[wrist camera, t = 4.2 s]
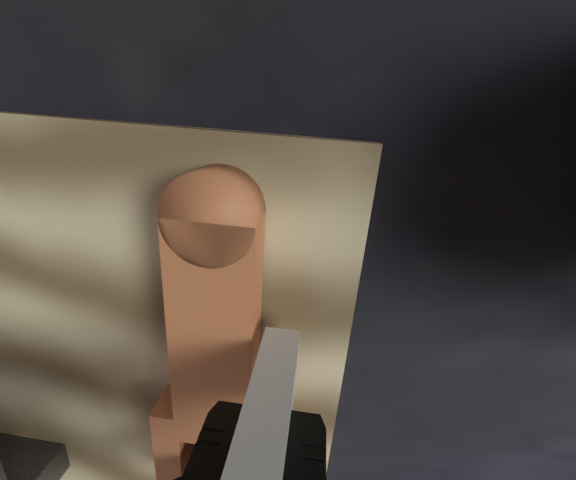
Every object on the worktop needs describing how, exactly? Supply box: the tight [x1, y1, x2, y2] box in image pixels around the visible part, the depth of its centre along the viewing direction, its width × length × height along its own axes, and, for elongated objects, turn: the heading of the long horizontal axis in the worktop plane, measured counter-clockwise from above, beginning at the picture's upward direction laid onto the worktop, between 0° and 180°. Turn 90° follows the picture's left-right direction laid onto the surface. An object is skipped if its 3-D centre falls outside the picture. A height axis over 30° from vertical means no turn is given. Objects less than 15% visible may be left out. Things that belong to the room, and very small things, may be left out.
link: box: [149, 164, 266, 480], centre depth 15 cm, size 18×6×2 cm, turn 176°
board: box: [0, 111, 383, 480], centre depth 18 cm, size 28×22×1 cm
